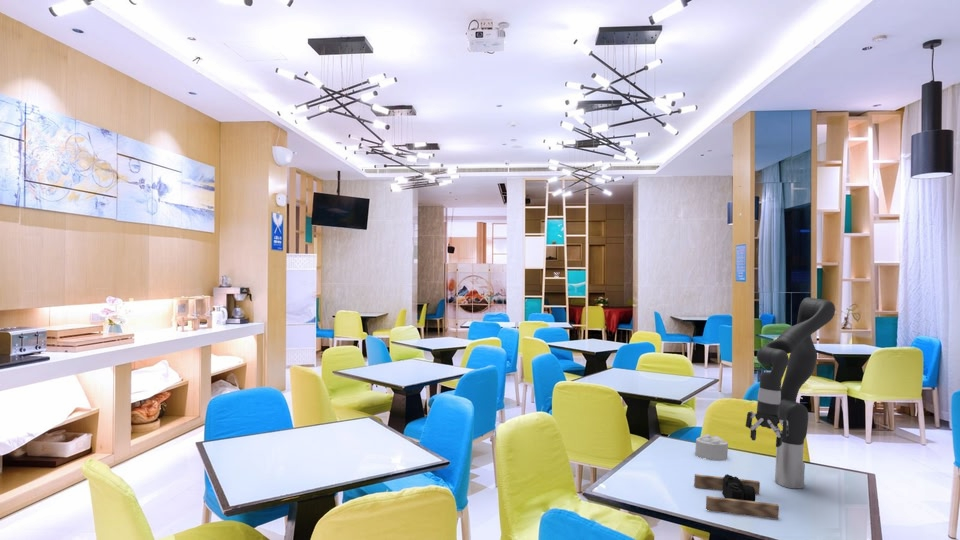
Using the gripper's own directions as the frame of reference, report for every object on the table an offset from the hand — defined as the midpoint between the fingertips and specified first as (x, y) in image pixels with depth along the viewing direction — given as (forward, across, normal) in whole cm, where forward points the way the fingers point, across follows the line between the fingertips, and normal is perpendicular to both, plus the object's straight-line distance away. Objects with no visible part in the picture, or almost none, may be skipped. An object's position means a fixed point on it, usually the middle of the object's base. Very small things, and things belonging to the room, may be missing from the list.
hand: (765, 443), depth 199 cm
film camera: (+20, +3, +14) cm, 25 cm away
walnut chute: (+20, +4, +15) cm, 25 cm away
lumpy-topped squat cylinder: (+19, +30, -24) cm, 43 cm away
